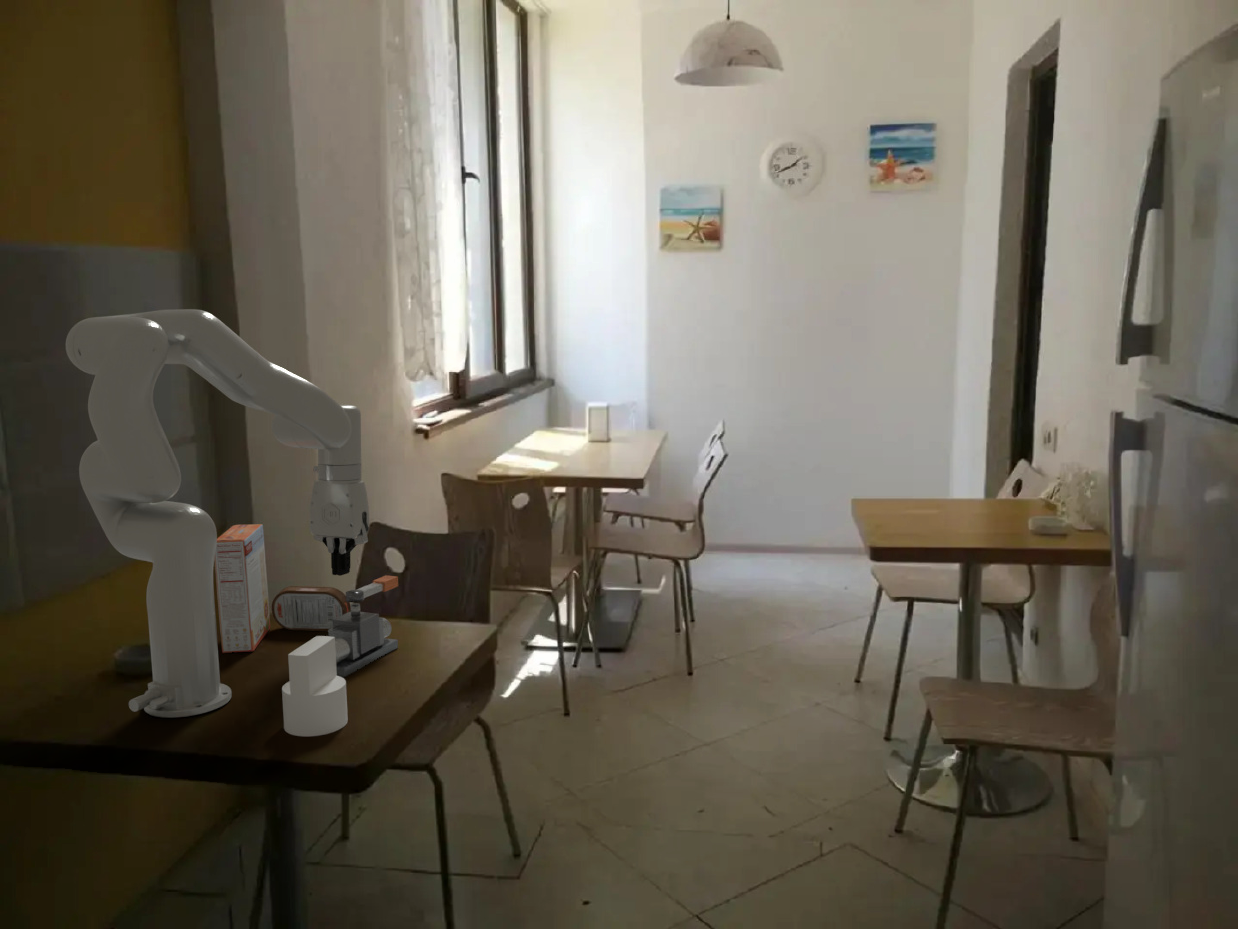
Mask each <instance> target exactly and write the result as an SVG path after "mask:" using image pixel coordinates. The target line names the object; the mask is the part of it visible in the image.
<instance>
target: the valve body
mask: <svg viewBox="0 0 1238 929" xmlns="http://www.w3.org/2000/svg"><path fill="white" fill-rule="evenodd" d="M350 606H351V612H348V613H346V614H344V615H342V616H339V617H337V618H335V619H333V628H331V629H329V630H328V631H327V632H328V633H327V634H328V636H330V637H335V650H336V670H337V676H340V677H342V678H344V677H347V676H350V675H351V674H352V673H354V672H357V671H358V670H359V669H362V668H364V667H365V665H366V666H367V665H369V664H371V663H372V662H373V663H374V660H375V661H377V660H378V659H380V658H382V657H384V656H385V654H386V655H388V654H389V653H392V652H393V651H395V650H396V649H398V647H399V640H398V639H396V638H395V639H394V638H393V639H392V638H387V637H389V636H390V635H391V634H392V633H391V632H392V624H391V622H390V621H389V620H388V619H386V618H385V617H382V616H380V614H379V613H376V612H375V613H374V612H365V611H361V603H360V602H352V603H350ZM381 656H382V657H381ZM379 657H380V658H379ZM377 658H378V659H377ZM370 662H371V663H370ZM357 669H358V670H357Z"/></svg>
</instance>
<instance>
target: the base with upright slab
mask: <svg viewBox="0 0 1238 929" xmlns="http://www.w3.org/2000/svg"><path fill="white" fill-rule="evenodd" d="M287 656H288V658H287V659H288V661H287V662H288V674H289V675H288V676H289V681H287V682H286V683H285V684H283V685H282V687H281V694H282V698H281V700H282V712H283V714H282V715H283V730H284V731H285V732H286V733H288V734H289V735H291V736H297V737H319V736H323V735H328V734H331V733H334V732H337V731H340V730H341V729H343V728H344V727H345V726H346V725H348V720H349V718H348V701H347V700H348V698H347V680H346V679H345V678H344V677H341V676H337V670H336V650H335V637H330V636H329V635H326V636H325V635H316V636H315V637H313V638H311V639H310V640H308V641H307V642H305V643H304V644H302V645H300V646H299V647H297V648H296V649H294V650H293V651H291V652H290V653H288V654H287Z"/></svg>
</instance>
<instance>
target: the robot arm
mask: <svg viewBox="0 0 1238 929" xmlns="http://www.w3.org/2000/svg"><path fill="white" fill-rule="evenodd" d="M65 351H66V355H67V357H68V359H69V361H70V362H71V363H72V364H73V365H74V366H75V367H76V368H78V370H79V371H82V372H84V373H87V374H89V375H94V379H93V381H92V385H91V386H90V387H91V388H90V390H89V395H88V399H87V400H88V401H87V402H88V403H87V411H88V417H89V420H90V423H91V426H92V429H93V431H94V433H95V435H96V436H95V437H96V439H97V440H95V441H94V442H92V443H91V444H90V445H89V446H88V447H87V448H86V449H85V451H84V452H83V453H82V455H81V458H80V461H79V467H78V471H79V472H78V474H79V481H80V484H81V487H82V490H83V492H84V494H85V496H86V499H87V500H88V502H89V504H90V507H91V509H92V510H93V512H94V515H95V516H96V518H97V521H98V522H99V525H100V526H101V528H102V530H103V533H104V534H105V536H106V538H107V539H108V541H109V543H110V544H111V545H112V547H113V548H114V549H115V550H116V552H119V553H120V554H121V555H123V556H125V557H127V558H131V559H135V560H139V561H144V562H145V561H146V562H150V563H152V569H151V573H150V576H149V579H148V582H147V587H146V599H145V600H146V612H147V621H148V623H147V624H148V633H149V634H148V635H149V645H150V658H151V659H150V660H151V671H152V672H151V673H152V681H151V682H148V683H147V688H148V689H147V690H145V692H144V693H143V694H142V695H139V696H136V697H134V698H132V699H129V701H128V707H129V709H130V710H131V711H132V712H133V713H134V712H138V711H140V710H142V709H143V710H144V712H145V713H147V714H149V715H150V716H153V717H158V718H169V719H170V718H185V717H191V716H196V715H202V714H206V713H208V712H212V711H214V710H217V709H218V708H219V709H220V708H221V707H223V706H225V705H226V704H228V703H229V701H230V700H231V698H232V689H231V687H229V686H228V685H226V684H224V683H221V678H220V662H219V649H218V634H217V618H216V617H217V616H216V607H215V606H216V604H215V591H214V590H215V589H214V588H215V587H214V568H215V562H214V557H215V551H216V543H217V538H218V535H217V533H218V532H217V527H216V524H215V522H214V520H213V519H212V518H211V516H210V515H209V513H208V512H206V511H205V510H203V509H201V508H200V507H198V506H195V505H192V504H189V503H186V502H185V503H184V502H177V501H176V502H175V501H168V500H170V499H172V498H173V497H174V496H175V495H176V494H177V492H178V491H179V489H180V487H181V483H182V474H181V473H182V472H181V469H180V465H179V462H178V459H177V458H176V456H175V454H174V451H173V449H172V446H171V445H170V443H169V440H168V438H167V435H166V434H165V432H164V429H163V426H162V424H161V422H160V421H159V420H160V419H159V417H158V415H157V411H156V409H155V404H154V389H155V385H156V382H157V379H158V377H159V375H160V373H161V371H162V369H163V367H164V366H165V364H167V365H183V366H184V365H185V366H186V367H188V368H190V369H191V370H193V371H194V372H195V373H197V375H199V376H200V377H201V378H203V379H204V380H206V381H207V382H208V383H209V384H211V385H212V386H213V387H214V388H216V389H217V390H219V392H221V393H222V394H223V395H225V396H226V397H227V398H228V399H230V400H231V401H233V402H235V403H238V404H240V405H242V406H245V407H248V408H250V409H253V410H258V411H261V412H264V413H265V412H266V413H269V414H272V415H274V416H273V418H272V420H271V431H272V434H273V436H274V438H275V439H276V440H277V441H278V442H279V443H281V444H282V445H284V446H286V447H291V448H297V449H298V448H299V449H311V450H312V449H313V450H317V465H314V466H313V473H314V474H317V477H318V478H317V480H314V482H313V485H312V490H311V494H310V504H309V516H308V517H309V519H308V520H309V521H308V522H309V526H308V527H309V532H310V533H311V535H313V540H315V541H318V542H321V543H323V544H324V545H325V546H326V548H327V552H328V553H330V555H331V556H330V563H331V564H330V566H331V575H332V576H344V575H347V574H349V573H350V572H351V570H350V569H351V553H352V552H353V551H354V548H356V546H358V545H362V544H366V543H368V542H369V538H368V533H369V530H370V509H369V508H370V507H369V499H368V494H367V493H368V492H367V488H366V483H365V481H363V480H362V417H361V416H362V414H361V410H360V409H359V408H358V406H356V405H352V404H339V402H337V401H336V400H335V399H334V398H333V397H331V396H330V395H329V394H328V393H327V392H325V391H324V389H321V388H320V387H319V386H317V385H315V384H314V383H312V382H310V381H308V380H307V379H305V378H303V377H301V376H299V375H297V374H294V373H293V372H291V371H288V370H287V369H285V368H283V367H281V366H279V365H277V364H275V363H274V362H271V361H269V360H268V359H266V358H265V357H264V356H262V355H261V354H260V353H259V352H258V351H257V350H255V349H254V348H253V347H252V346H251V345H249V344H248V343H247V342H246V341H245V340H244V339H242V337H240V336H239V335H238V334H237V333H235V332H234V330H232V329H231V328H230V327H229V326H227V325H226V324H225V323H224V322H222V321H221V320H220V319H219V318H218V317H216V316H215V315H213V314H212V313H210V312H208V311H205V310H202V309H197V308H196V309H195V308H193V309H192V308H188V309H187V308H185V309H182V308H181V309H159V310H152V311H146V312H136V313H128V314H118V315H107V316H95V317H88V318H85V319H82V320H80V321H78V322H77V323H75V324H74V325H73V327H71V328H70V330H69V331H68V333H67V335H66V339H65Z"/></svg>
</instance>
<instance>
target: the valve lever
mask: <svg viewBox="0 0 1238 929" xmlns="http://www.w3.org/2000/svg"><path fill="white" fill-rule="evenodd" d="M398 587H399V577H398V576H394V575H383V576H381V577H379V578H377V579H374V580H372V583H370V584H368V585H367V584H366V585H364V586H362V587H360V588H358V589H351V590H347V591H346V592H345V595H346V601H347V602H350V603H360V602H363V601H364V600H365V598H368V597H370V596H373V595H375V594H378V593H380V592H383V593H384V592H385V593H386V592H387V591H388V592H389V591H391V590H393V589H395V588H398Z"/></svg>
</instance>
